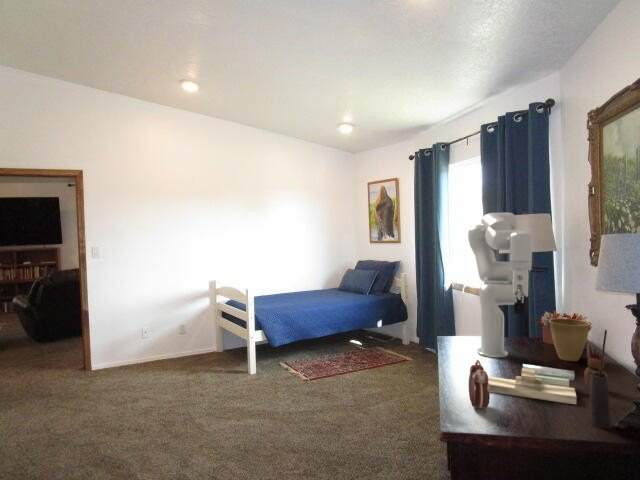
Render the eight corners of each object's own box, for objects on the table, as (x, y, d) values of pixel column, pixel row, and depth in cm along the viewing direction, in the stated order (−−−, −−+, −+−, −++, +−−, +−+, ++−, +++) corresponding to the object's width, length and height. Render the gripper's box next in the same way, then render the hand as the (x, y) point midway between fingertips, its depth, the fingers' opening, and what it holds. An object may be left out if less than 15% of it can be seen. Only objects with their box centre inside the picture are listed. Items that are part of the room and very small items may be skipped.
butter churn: (569, 418, 129) (570, 324, 128) (596, 415, 131) (597, 322, 130) (595, 432, 120) (596, 332, 119) (623, 428, 122) (625, 330, 122)
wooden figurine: (580, 387, 153) (581, 345, 153) (591, 385, 156) (592, 343, 155) (599, 394, 147) (600, 350, 147) (610, 391, 149) (611, 348, 149)
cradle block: (533, 382, 159) (533, 369, 159) (567, 386, 154) (567, 374, 154) (533, 388, 153) (533, 376, 153) (569, 393, 148) (569, 380, 148)
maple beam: (485, 382, 159) (485, 363, 159) (574, 395, 147) (574, 374, 146) (483, 390, 152) (483, 370, 151) (576, 404, 139) (576, 382, 139)
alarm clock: (490, 416, 132) (490, 366, 131) (473, 415, 132) (473, 366, 132) (483, 401, 142) (483, 356, 142) (467, 400, 143) (467, 355, 143)
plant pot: (595, 364, 178) (596, 326, 177) (556, 363, 180) (557, 325, 180) (580, 354, 192) (580, 318, 192) (544, 353, 195) (544, 317, 194)
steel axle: (522, 373, 156) (522, 365, 156) (522, 370, 159) (523, 362, 159) (574, 381, 149) (574, 372, 149) (573, 378, 152) (573, 370, 151)
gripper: (531, 268, 153) (530, 316, 154) (531, 262, 168) (530, 306, 169) (508, 267, 156) (507, 314, 157) (510, 261, 171) (509, 304, 173)
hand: (519, 310), depth 163 cm, fingers open, 9 cm apart
